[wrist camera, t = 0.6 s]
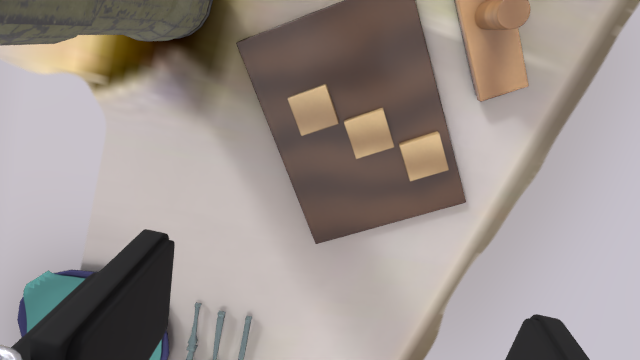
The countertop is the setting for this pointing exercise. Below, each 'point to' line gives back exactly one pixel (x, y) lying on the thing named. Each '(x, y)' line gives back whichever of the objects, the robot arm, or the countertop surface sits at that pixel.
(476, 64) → the wooden knob plate
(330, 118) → the crumb
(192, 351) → the cutlery set
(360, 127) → the crumb
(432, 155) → the crumb
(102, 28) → the olive green flask
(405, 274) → the countertop surface
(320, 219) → the tray
